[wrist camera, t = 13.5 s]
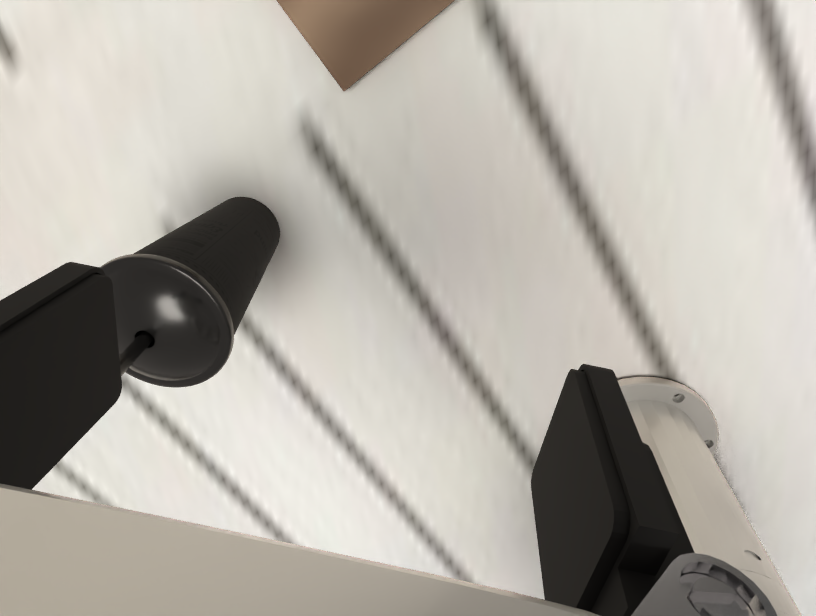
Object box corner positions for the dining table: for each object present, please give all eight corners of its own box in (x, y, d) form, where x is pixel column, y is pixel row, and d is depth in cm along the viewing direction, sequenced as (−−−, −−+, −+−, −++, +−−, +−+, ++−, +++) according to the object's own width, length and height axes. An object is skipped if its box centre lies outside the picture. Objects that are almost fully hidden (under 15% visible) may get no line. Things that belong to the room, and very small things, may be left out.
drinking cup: (203, 274, 42) (20, 469, 24) (186, 174, 38) (-45, 320, 21) (302, 280, 41) (188, 483, 24) (295, 179, 38) (153, 333, 20)
